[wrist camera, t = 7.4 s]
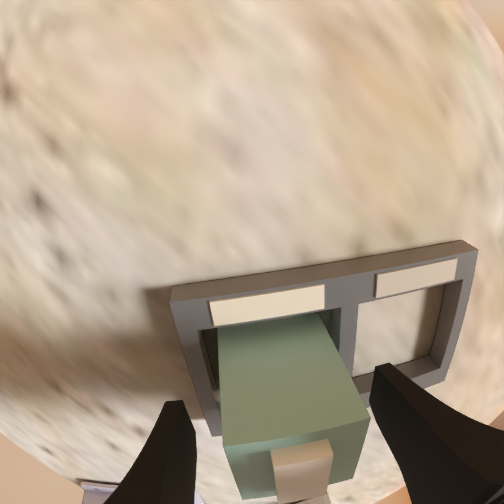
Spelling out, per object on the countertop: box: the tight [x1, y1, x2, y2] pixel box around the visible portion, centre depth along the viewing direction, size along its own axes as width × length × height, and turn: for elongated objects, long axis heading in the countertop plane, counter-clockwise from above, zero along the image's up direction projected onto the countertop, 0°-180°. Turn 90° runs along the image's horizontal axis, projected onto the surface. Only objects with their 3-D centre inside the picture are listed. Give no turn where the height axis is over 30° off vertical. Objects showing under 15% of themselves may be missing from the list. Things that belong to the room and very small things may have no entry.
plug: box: [218, 312, 371, 504], centre depth 11 cm, size 4×4×7 cm
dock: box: [169, 240, 478, 437], centre depth 13 cm, size 13×8×1 cm, turn 96°
